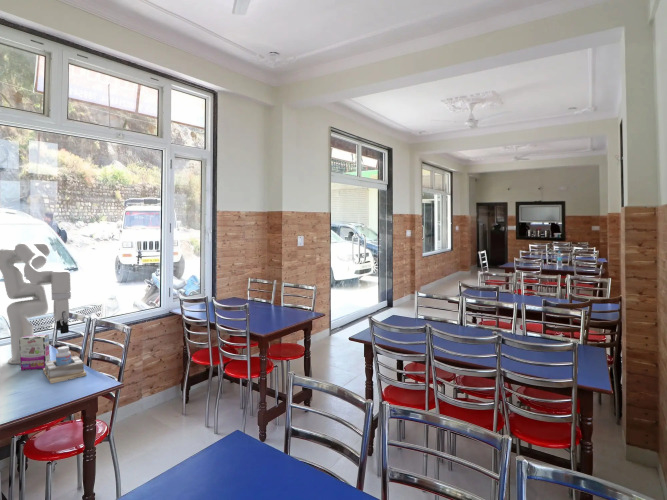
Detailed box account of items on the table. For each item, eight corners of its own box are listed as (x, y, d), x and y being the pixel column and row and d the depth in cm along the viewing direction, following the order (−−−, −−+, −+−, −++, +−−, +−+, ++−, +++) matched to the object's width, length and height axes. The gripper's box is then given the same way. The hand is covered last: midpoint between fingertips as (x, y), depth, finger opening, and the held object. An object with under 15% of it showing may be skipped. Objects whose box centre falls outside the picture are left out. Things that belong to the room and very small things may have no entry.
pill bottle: (64, 373, 187) (62, 350, 186) (53, 372, 188) (52, 349, 187) (74, 368, 193) (73, 346, 192) (64, 367, 194) (63, 345, 193)
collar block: (43, 371, 193) (42, 360, 192) (76, 364, 202) (76, 354, 202) (50, 383, 178) (50, 371, 178) (86, 375, 188) (85, 364, 188)
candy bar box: (50, 365, 201) (49, 334, 199) (45, 369, 196) (44, 337, 194) (25, 367, 198) (24, 335, 197) (20, 370, 193) (18, 338, 192)
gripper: (48, 294, 191) (49, 328, 192) (55, 299, 179) (56, 336, 180) (66, 292, 196) (67, 325, 198) (74, 297, 184) (75, 333, 185)
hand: (62, 330), depth 189 cm, fingers open, 9 cm apart
